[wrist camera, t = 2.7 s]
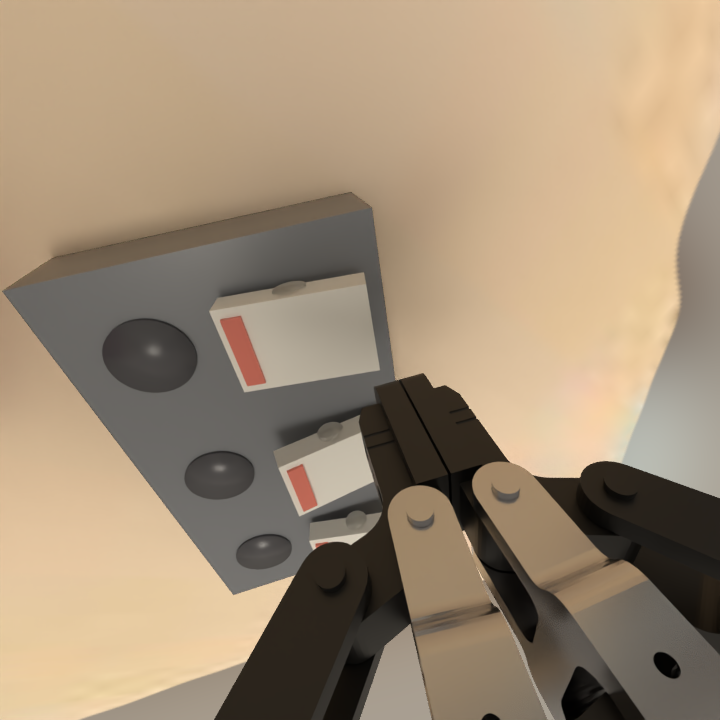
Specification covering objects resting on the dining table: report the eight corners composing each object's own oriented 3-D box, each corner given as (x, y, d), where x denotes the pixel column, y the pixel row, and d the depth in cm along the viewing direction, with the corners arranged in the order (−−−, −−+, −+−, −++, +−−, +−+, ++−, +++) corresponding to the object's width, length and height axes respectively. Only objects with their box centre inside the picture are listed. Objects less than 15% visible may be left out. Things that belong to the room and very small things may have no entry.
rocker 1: (251, 370, 18) (243, 394, 16) (219, 293, 15) (207, 313, 14) (376, 350, 17) (380, 372, 16) (363, 268, 15) (366, 285, 14)
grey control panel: (236, 543, 30) (233, 597, 27) (52, 258, 17) (-2, 293, 13) (399, 492, 32) (417, 538, 28) (351, 192, 18) (373, 208, 15)
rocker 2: (292, 494, 21) (300, 518, 20) (271, 446, 19) (279, 470, 18) (385, 451, 23) (399, 471, 21) (377, 402, 20) (391, 421, 19)
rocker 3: (323, 549, 27) (322, 575, 25) (310, 517, 24) (309, 543, 23) (407, 537, 26) (411, 562, 25) (401, 504, 24) (405, 529, 23)
